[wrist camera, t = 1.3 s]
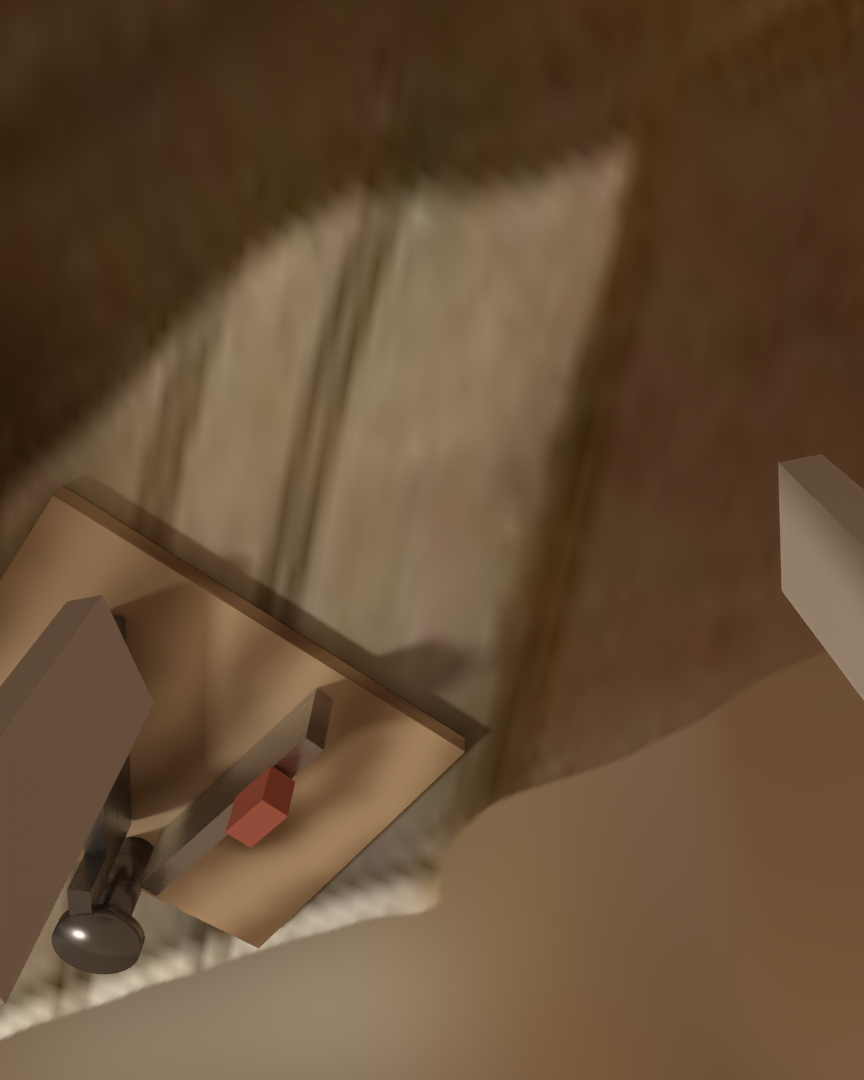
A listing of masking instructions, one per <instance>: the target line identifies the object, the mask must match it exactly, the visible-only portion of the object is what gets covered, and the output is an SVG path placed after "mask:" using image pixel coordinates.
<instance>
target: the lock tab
mask: <svg viewBox="0 0 864 1080" xmlns="http://www.w3.org/2000/svg"><path fill="white" fill-rule="evenodd" d="M294 785H295V781H294V780H292V779H291V778H289V777H288V776H286V775H285V774H283V773H282V772H280V771H279V770H277V769H276V768H274V767H273V766H270V767H269V768H267V769H266V770H265V771H264V772H263V773H262V774H261V775H260V776H259V777H257V778H256V779H255V780H254V781H253V782H252V783H251V784H250V785H248V786H247V787H246V788H245V789H244V790H243V791H242V792H241V793H240V794H238V795H237V796H236V798H235V801H234V805H233V808H232V811H231V814H230V818H229V821H228V824H227V828H226V831H225V832H226V833H227V834H229V835H230V836H232V837H234V838H235V839H237V840H239V841H240V842H242V843H243V844H245V845H247V846H248V847H250V848H251V847H252V846H254V845H255V844H256V843H257V842H258V841H259V840H261V839H262V838H263V837H264V836H265V835H267V834H268V833H269V832H270V831H271V830H272V829H274V828H275V827H276V826H277V825H278V824H279V823H281V822H282V821H283V820H284V819H285V818H287V817H288V813H289V808H290V804H291V799H292V795H293V790H294Z"/></svg>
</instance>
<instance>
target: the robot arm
mask: <svg viewBox="0 0 864 1080" xmlns="http://www.w3.org/2000/svg"><path fill="white" fill-rule="evenodd" d="M778 467H779V504H780V541H781V578H782V592H783V593H784V594H785V596H786V597H787V598H788V600H789V601H790V602H791V604H792V605H793V606H794V608H795V609H796V610H797V612H798V613H799V614H800V616H801V617H802V618H803V620H804V621H805V622H806V624H807V625H808V626H809V628H810V629H811V630H812V632H813V633H814V634H815V636H816V637H817V638H818V640H819V641H820V642H821V644H822V645H823V646H824V648H825V649H826V650H827V652H828V653H829V654H830V656H831V657H832V659H833V660H834V661H835V662H836V664H837V665H838V667H839V668H840V669H841V671H842V672H843V673H844V675H845V676H846V677H847V679H848V680H849V681H850V683H851V684H852V685H853V687H854V688H855V689H856V690H857V692H858V693H859V695H860V696H861V697H862V699H863V700H864V490H863V489H862V488H861V487H860V486H859V485H857V484H856V483H855V482H854V481H853V480H851V479H850V478H849V477H848V476H847V475H846V474H844V473H843V472H842V471H841V470H840V469H838V468H837V467H836V466H835V465H834V464H832V463H831V462H830V461H829V460H828V459H827V458H825V457H824V456H823V455H822V454H821V455H816V456H811V457H806V458H800V459H795V460H790V461H785V462H780V463H778ZM153 704H154V702H153V700H152V698H151V696H150V694H149V692H148V690H147V688H146V685H145V683H144V681H143V679H142V677H141V675H140V673H139V671H138V668H137V666H136V664H135V662H134V660H133V658H132V656H131V654H130V651H129V649H128V647H127V645H126V643H125V641H124V639H123V637H122V634H121V632H120V630H119V628H118V626H117V624H116V622H115V620H114V618H113V615H112V613H111V611H110V609H109V607H108V605H107V603H106V601H105V598H104V596H103V595H98V596H93V597H88V598H83V599H77V600H72V601H67V602H66V603H65V604H64V606H63V607H62V608H61V610H60V611H59V612H58V613H57V615H56V616H55V617H54V619H53V620H52V621H51V622H50V624H49V625H48V626H47V627H46V629H45V630H44V631H43V633H42V634H41V635H40V636H39V638H38V639H37V640H36V641H35V643H34V644H33V645H32V647H31V648H30V649H29V650H28V652H27V653H26V654H25V655H24V657H23V658H22V659H21V661H20V662H19V663H18V664H17V666H16V667H15V668H14V669H13V671H12V672H11V673H10V675H9V676H8V677H7V678H6V680H5V681H4V682H3V683H2V685H1V686H0V1005H3V1004H6V1002H7V1000H8V998H9V996H10V993H11V991H12V989H13V987H14V985H15V983H16V981H17V979H18V977H19V975H20V973H21V971H22V969H23V967H24V965H25V963H26V961H27V959H28V957H29V955H30V953H31V951H32V949H33V947H34V945H35V943H36V941H37V939H38V937H39V935H40V933H41V931H42V929H43V927H44V925H45V923H46V921H47V919H48V917H49V915H50V912H51V910H52V908H53V906H54V904H55V902H56V900H57V898H58V896H59V894H60V892H61V890H62V888H63V886H64V884H65V882H66V880H67V878H68V876H69V874H70V872H71V870H72V868H73V866H74V864H75V862H76V860H77V858H78V856H79V854H80V852H81V850H82V848H83V846H84V844H85V842H86V840H87V838H88V836H89V834H90V832H91V829H92V827H93V825H94V823H95V821H96V819H97V817H98V815H99V813H100V811H101V809H102V807H103V805H104V803H105V801H106V799H107V797H108V795H109V793H110V791H111V789H112V787H113V785H114V783H115V781H116V779H117V777H118V775H119V773H120V771H121V769H122V767H123V765H124V763H125V761H126V759H127V757H128V755H129V753H130V751H131V748H132V746H133V744H134V742H135V740H136V738H137V736H138V734H139V732H140V730H141V728H142V726H143V724H144V722H145V720H146V718H147V716H148V714H149V712H150V710H151V708H152V706H153Z"/></svg>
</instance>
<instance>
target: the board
mask: <svg viewBox="0 0 864 1080" xmlns="http://www.w3.org/2000/svg"><path fill="white" fill-rule="evenodd" d="M98 595H103V596H104V598H105V601H106V603H107V605H108V607H109V609H110V611H111V613H112V615H113V616H120V617H125V642H126V645H127V647H128V649H129V651H130V654H131V656H132V658H133V660H134V662H135V664H136V666H137V668H138V671H139V673H140V675H141V677H142V679H143V681H144V683H145V685H146V688H147V690H148V692H149V694H150V696H151V698H152V700H153V702H154V704H153V706H152V708H151V710H150V712H149V714H148V716H147V718H146V720H145V722H144V724H143V726H142V728H141V730H140V732H139V734H138V736H137V738H136V740H135V742H134V744H133V746H132V748H131V751H130V753H129V764H130V795H131V826H130V828H129V831H128V833H127V835H126V837H139V838H143V839H145V840H147V841H148V842H150V843H151V844H152V845H153V847H155V844H156V842H157V839H158V837H159V834H160V832H161V831H162V830H163V829H164V828H165V827H166V826H167V825H168V824H170V823H171V822H172V821H173V820H174V819H175V818H176V817H177V816H178V815H179V814H180V813H182V812H183V811H184V810H185V809H186V808H187V807H188V806H189V805H190V804H191V803H192V802H194V801H195V800H196V799H197V798H198V797H199V796H200V795H201V794H202V793H203V792H204V791H206V790H207V789H208V788H209V787H210V786H211V785H212V784H213V783H214V782H215V781H216V780H218V779H219V778H220V777H221V776H222V775H223V774H224V773H225V772H226V771H227V770H228V769H230V768H231V767H232V766H233V765H234V764H235V763H236V762H237V761H238V760H239V759H240V758H242V757H243V756H244V755H245V754H246V753H247V752H248V751H249V750H250V749H251V748H252V747H253V746H255V745H256V744H257V743H258V742H259V741H260V740H261V739H262V738H263V737H264V736H265V735H267V734H268V733H269V732H270V731H271V730H272V729H273V728H274V727H275V726H276V725H277V724H279V723H280V722H281V721H282V720H283V719H284V718H285V717H286V716H287V715H288V714H289V713H291V712H292V711H293V710H294V709H295V708H296V707H297V706H298V705H299V704H300V703H301V702H303V701H304V700H305V699H306V698H307V697H308V696H309V695H310V694H311V693H312V692H313V691H315V690H316V689H317V690H318V691H320V692H321V693H323V694H324V695H325V696H327V697H328V698H329V699H331V700H332V701H333V703H332V708H331V714H330V719H329V725H328V730H327V736H326V741H325V747H324V751H322V752H321V753H320V754H319V755H318V756H317V757H316V758H314V759H313V760H312V761H311V762H310V763H309V764H308V765H306V766H305V767H304V768H303V769H302V770H301V771H300V772H298V773H297V774H296V775H295V776H294V777H293V778H292V780H294V781H295V785H294V790H293V795H292V799H291V804H290V808H289V813H288V817H287V818H285V819H284V820H283V821H282V822H281V823H279V824H278V825H277V826H276V827H275V828H274V829H272V830H271V831H270V832H269V833H268V834H267V835H265V836H264V837H263V838H262V839H261V840H259V841H258V842H257V843H256V844H255V845H254V846H252V847H251V848H250V847H248V846H247V845H245V844H243V843H242V842H240V841H239V840H237V839H235V838H234V837H232V836H230V835H229V834H227V835H226V836H225V837H224V838H223V839H222V840H221V841H219V842H218V843H217V844H216V845H215V846H214V847H213V848H211V849H210V850H209V851H208V852H207V853H206V854H205V855H203V856H202V857H201V858H200V859H199V860H198V861H197V862H195V863H194V864H193V865H192V866H191V867H190V868H189V869H187V870H186V871H185V872H184V873H183V874H182V875H181V876H179V877H178V878H177V879H176V880H175V881H174V882H172V883H171V884H170V885H169V886H168V887H167V888H166V889H164V890H163V891H162V892H161V893H160V894H159V895H158V896H154V895H153V894H151V893H149V892H148V891H146V890H144V889H142V890H141V891H143V892H145V893H147V894H149V895H151V896H153V897H155V898H157V899H159V900H161V901H163V902H165V903H167V904H169V905H171V906H174V907H176V908H178V909H180V910H182V911H184V912H186V913H188V914H190V915H192V916H194V917H196V918H198V919H200V920H202V921H204V922H206V923H208V924H210V925H212V926H214V927H216V928H218V929H220V930H222V931H225V932H227V933H229V934H231V935H233V936H235V937H237V938H239V939H241V940H243V941H245V942H247V943H249V944H251V945H253V946H255V947H257V948H259V947H260V946H261V945H262V944H264V943H265V942H266V941H267V940H268V939H269V938H270V937H271V936H272V935H273V934H274V933H275V932H276V931H277V930H278V929H279V928H280V927H281V926H282V925H284V924H285V923H286V922H287V921H288V920H289V919H290V918H291V917H292V916H293V915H294V914H295V913H296V912H297V911H298V910H299V909H300V908H301V907H302V906H303V905H305V904H306V903H307V902H308V901H309V900H310V899H311V898H312V897H313V896H314V895H315V894H316V893H317V892H318V891H319V890H320V889H321V888H322V887H323V886H325V885H326V884H327V883H328V882H329V881H330V880H331V879H332V878H333V877H334V876H335V875H336V874H337V873H338V872H339V871H340V870H341V869H342V868H343V867H345V866H346V865H347V864H348V863H349V862H350V861H351V860H352V859H353V858H354V857H355V856H356V855H357V854H358V853H359V852H360V851H361V850H362V849H363V848H364V847H366V846H367V845H368V844H369V843H370V842H371V841H372V840H373V839H374V838H375V837H376V836H377V835H378V834H379V833H380V832H381V831H382V830H383V829H384V828H386V827H387V826H388V825H389V824H390V823H391V822H392V821H393V820H394V819H395V818H396V817H397V816H398V815H399V814H400V813H401V812H402V811H403V810H404V809H405V808H407V807H408V806H409V805H410V804H411V803H412V802H413V801H414V800H415V799H416V798H417V797H418V796H419V795H420V794H421V793H422V792H423V791H424V790H425V789H427V788H428V787H429V786H430V785H431V784H432V783H433V782H434V781H435V780H436V779H437V778H438V777H439V776H440V775H441V774H442V773H443V772H444V771H445V770H447V769H448V768H449V767H450V766H451V765H452V764H453V763H454V762H455V761H456V760H457V759H458V758H459V757H460V756H461V755H462V754H463V753H464V752H465V738H464V737H462V736H461V735H459V734H458V733H456V732H454V731H453V730H451V729H450V728H448V727H446V726H445V725H443V724H442V723H440V722H438V721H437V720H435V719H434V718H432V717H431V716H429V715H427V714H426V713H424V712H423V711H421V710H419V709H418V708H416V707H415V706H413V705H411V704H410V703H408V702H407V701H405V700H403V699H402V698H400V697H399V696H397V695H396V694H394V693H392V692H391V691H389V690H388V689H386V688H384V687H383V686H381V685H380V684H378V683H376V682H375V681H373V680H372V679H370V678H368V677H367V676H365V675H364V674H362V673H361V672H359V671H357V670H356V669H354V668H353V667H351V666H349V665H348V664H346V663H345V662H343V661H341V660H340V659H338V658H337V657H335V656H333V655H332V654H330V653H329V652H327V651H325V650H324V649H322V648H321V647H319V646H318V645H316V644H314V643H313V642H311V641H310V640H308V639H306V638H305V637H303V636H302V635H300V634H298V633H297V632H295V631H294V630H292V629H290V628H289V627H287V626H286V625H284V624H283V623H281V622H279V621H278V620H276V619H275V618H273V617H271V616H270V615H268V614H267V613H265V612H263V611H262V610H260V609H259V608H257V607H255V606H254V605H252V604H251V603H249V602H248V601H246V600H244V599H243V598H241V597H240V596H238V595H236V594H235V593H233V592H232V591H230V590H228V589H227V588H225V587H224V586H222V585H220V584H219V583H217V582H216V581H214V580H213V579H211V578H209V577H208V576H206V575H205V574H203V573H201V572H200V571H198V570H197V569H195V568H193V567H192V566H190V565H189V564H187V563H185V562H184V561H182V560H181V559H179V558H177V557H176V556H174V555H173V554H171V553H170V552H168V551H166V550H165V549H163V548H162V547H160V546H158V545H157V544H155V543H154V542H152V541H150V540H149V539H147V538H146V537H144V536H142V535H141V534H139V533H138V532H136V531H135V530H133V529H131V528H130V527H128V526H127V525H125V524H123V523H122V522H120V521H119V520H117V519H115V518H114V517H112V516H111V515H109V514H107V513H106V512H104V511H103V510H101V509H100V508H98V507H96V506H95V505H93V504H92V503H90V502H88V501H87V500H85V499H84V498H82V497H80V496H79V495H77V494H76V493H74V492H72V491H71V490H69V489H68V488H66V487H65V486H63V487H62V488H60V489H59V490H58V491H57V492H56V493H55V494H54V495H53V497H52V498H51V500H50V501H49V503H48V504H47V506H46V508H45V509H44V511H43V512H42V514H41V516H40V517H39V519H38V520H37V522H36V524H35V525H34V527H33V528H32V530H31V532H30V533H29V535H28V536H27V538H26V540H25V541H24V543H23V544H22V546H21V547H20V549H19V551H18V552H17V554H16V555H15V557H14V559H13V560H12V562H11V563H10V565H9V567H8V568H7V570H6V571H5V573H4V575H3V576H2V578H1V579H0V686H1V685H2V683H3V682H4V681H5V680H6V678H7V677H8V676H9V675H10V673H11V672H12V671H13V669H14V668H15V667H16V666H17V664H18V663H19V662H20V661H21V659H22V658H23V657H24V655H25V654H26V653H27V652H28V650H29V649H30V648H31V647H32V645H33V644H34V643H35V641H36V640H37V639H38V638H39V636H40V635H41V634H42V633H43V631H44V630H45V629H46V627H47V626H48V625H49V624H50V622H51V621H52V620H53V619H54V617H55V616H56V615H57V613H58V612H59V611H60V610H61V608H62V607H63V606H64V604H65V603H66V602H67V601H72V600H77V599H83V598H88V597H93V596H98ZM126 837H125V838H126ZM83 856H84V846H83V848H82V850H81V852H80V854H79V856H78V858H77V859H78V860H80V861H82V858H83Z"/></svg>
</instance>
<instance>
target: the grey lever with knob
mask: <svg viewBox="0 0 864 1080" xmlns="http://www.w3.org/2000/svg"><path fill="white" fill-rule="evenodd" d="M113 618H114V620H115V622H116V624H117V626H118V628H119V630H120V632H121V634H122V637H123V639H124V641H125V617H120V616H113ZM125 643H126V642H125ZM130 826H131V795H130V764H129V755H128V757H127V759H126V761H125V763H124V765H123V767H122V769H121V771H120V773H119V775H118V777H117V779H116V781H115V783H114V785H113V787H112V789H111V791H110V793H109V795H108V797H107V799H106V801H105V803H104V805H103V807H102V809H101V811H100V813H99V815H98V817H97V819H96V821H95V823H94V825H93V827H92V829H91V832H90V834H89V836H88V838H87V840H86V842H85V844H84V856H83V858H82V861H81V863H80V865H79V867H78V869H77V871H76V873H75V875H74V877H73V879H72V881H71V883H70V885H69V887H68V889H67V892H68V903H69V910H67V911H66V912H65V913H64V914H63V915H62V916H61V917H60V919H59V921H58V923H57V926H56V928H55V930H54V932H53V934H52V945H53V948H54V950H55V952H56V953H57V954H58V956H59V957H60V958H61V959H62V960H64V961H65V962H66V963H68V964H69V965H71V966H73V967H75V968H77V969H80V970H82V971H86V972H90V973H96V974H113V973H118V972H121V971H124V970H126V969H128V968H130V967H131V966H133V965H134V964H135V963H136V961H137V960H138V958H139V955H140V953H141V950H142V947H143V944H144V940H145V936H144V931H143V929H142V927H141V925H140V924H139V923H138V922H137V921H136V919H134V918H133V917H132V916H131V915H129V914H128V913H126V912H124V911H122V910H120V909H118V908H115V907H112V906H108V905H103V904H98V903H99V900H100V898H101V896H102V894H103V891H104V889H105V887H106V885H107V882H108V876H109V874H110V871H111V869H112V867H113V865H114V862H115V860H116V858H117V855H118V853H119V851H120V849H121V846H122V844H123V842H124V840H125V837H126V835H127V833H128V831H129V828H130Z"/></svg>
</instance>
